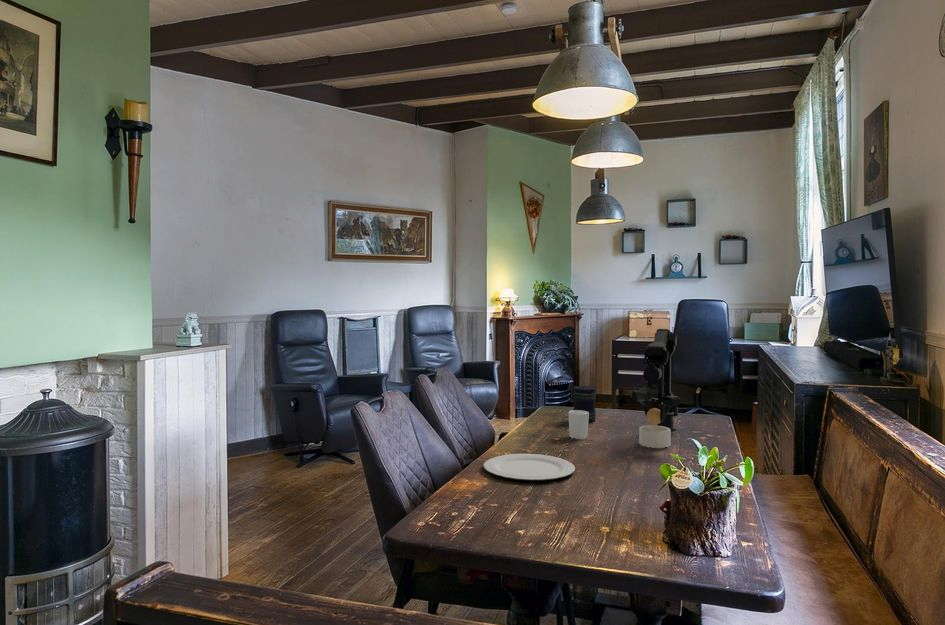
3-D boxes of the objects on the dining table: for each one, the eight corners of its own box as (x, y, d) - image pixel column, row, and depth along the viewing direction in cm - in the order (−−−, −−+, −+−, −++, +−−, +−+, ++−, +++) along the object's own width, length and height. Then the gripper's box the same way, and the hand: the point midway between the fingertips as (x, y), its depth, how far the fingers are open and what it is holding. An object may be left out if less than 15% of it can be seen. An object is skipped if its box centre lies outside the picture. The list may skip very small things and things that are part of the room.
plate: (582, 463, 208) (582, 458, 208) (565, 489, 181) (565, 483, 181) (498, 455, 218) (498, 450, 218) (470, 479, 190) (470, 473, 190)
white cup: (587, 435, 249) (588, 410, 248) (589, 440, 241) (589, 414, 240) (567, 434, 249) (568, 409, 249) (568, 439, 241) (569, 413, 241)
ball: (653, 421, 238) (653, 406, 238) (666, 424, 233) (666, 408, 233) (643, 423, 235) (643, 407, 235) (656, 426, 230) (656, 410, 230)
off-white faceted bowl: (652, 439, 242) (652, 424, 242) (676, 445, 233) (676, 429, 233) (633, 443, 236) (633, 427, 236) (656, 449, 227) (657, 433, 226)
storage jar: (597, 423, 271) (597, 389, 270) (574, 423, 271) (575, 389, 270) (593, 419, 281) (593, 385, 280) (571, 418, 281) (571, 385, 280)
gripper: (621, 377, 237) (621, 418, 237) (662, 384, 221) (661, 427, 222) (641, 375, 243) (640, 415, 243) (681, 381, 228) (681, 424, 228)
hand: (654, 420), depth 234 cm, fingers closed on ball, 6 cm apart
